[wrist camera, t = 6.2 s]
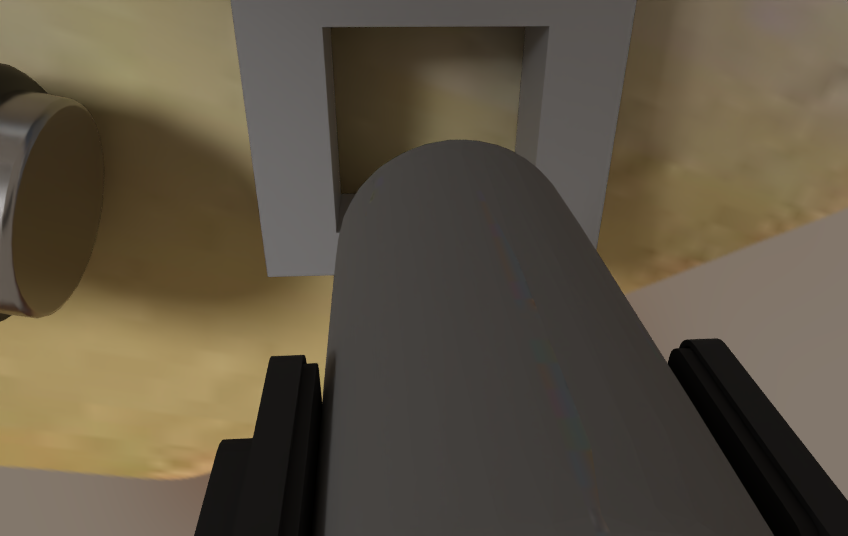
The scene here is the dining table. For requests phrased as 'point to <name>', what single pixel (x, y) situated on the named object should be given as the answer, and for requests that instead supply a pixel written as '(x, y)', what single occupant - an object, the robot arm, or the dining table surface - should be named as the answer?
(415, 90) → the dining table surface
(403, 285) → the bottle
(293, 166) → the grey cinder block
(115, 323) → the dining table surface
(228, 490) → the robot arm
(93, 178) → the muzzle brake
